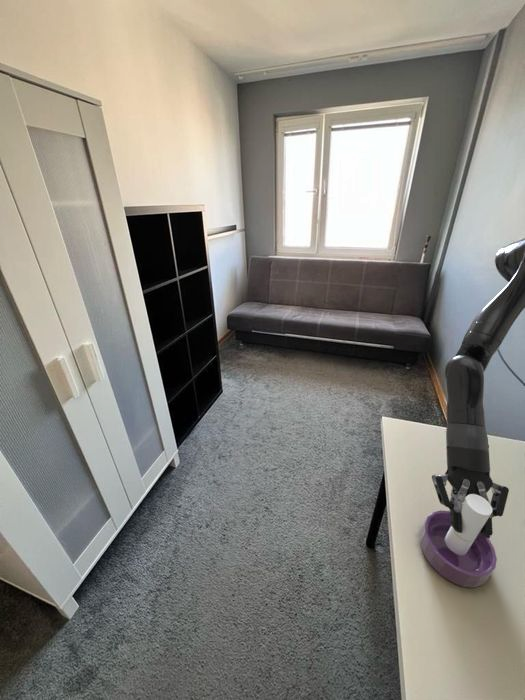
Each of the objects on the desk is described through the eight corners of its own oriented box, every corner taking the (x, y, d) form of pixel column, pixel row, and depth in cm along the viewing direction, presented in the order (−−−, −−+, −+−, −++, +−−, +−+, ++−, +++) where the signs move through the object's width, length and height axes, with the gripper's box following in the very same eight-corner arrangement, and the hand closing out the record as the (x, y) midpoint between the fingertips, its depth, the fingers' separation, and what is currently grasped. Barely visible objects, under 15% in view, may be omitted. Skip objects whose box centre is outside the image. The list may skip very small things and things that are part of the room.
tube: (463, 559, 60) (488, 519, 52) (441, 543, 63) (462, 503, 55) (470, 545, 62) (495, 505, 55) (449, 530, 65) (470, 490, 58)
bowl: (428, 512, 72) (434, 499, 69) (491, 550, 64) (500, 537, 61) (411, 555, 64) (416, 542, 61) (481, 605, 56) (491, 593, 53)
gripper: (493, 450, 63) (500, 535, 59) (424, 441, 66) (426, 521, 62) (516, 452, 56) (525, 549, 52) (437, 442, 59) (440, 532, 55)
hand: (471, 533), depth 57 cm, fingers closed on tube, 4 cm apart
